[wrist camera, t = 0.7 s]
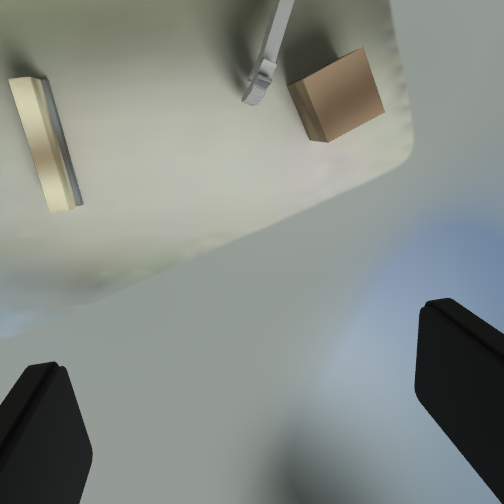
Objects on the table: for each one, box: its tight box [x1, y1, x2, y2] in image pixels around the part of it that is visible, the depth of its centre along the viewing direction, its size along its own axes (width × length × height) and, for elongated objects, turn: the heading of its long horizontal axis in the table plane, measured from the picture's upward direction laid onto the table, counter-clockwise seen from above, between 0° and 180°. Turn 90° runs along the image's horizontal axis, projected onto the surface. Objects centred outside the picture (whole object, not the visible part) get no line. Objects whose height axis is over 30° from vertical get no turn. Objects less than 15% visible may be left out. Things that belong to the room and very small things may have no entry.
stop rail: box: [8, 77, 83, 213], centre depth 29 cm, size 10×2×2 cm, turn 7°
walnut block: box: [287, 47, 385, 142], centre depth 30 cm, size 5×5×5 cm
